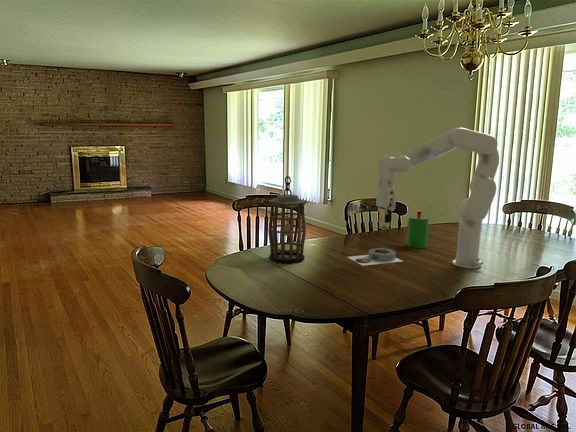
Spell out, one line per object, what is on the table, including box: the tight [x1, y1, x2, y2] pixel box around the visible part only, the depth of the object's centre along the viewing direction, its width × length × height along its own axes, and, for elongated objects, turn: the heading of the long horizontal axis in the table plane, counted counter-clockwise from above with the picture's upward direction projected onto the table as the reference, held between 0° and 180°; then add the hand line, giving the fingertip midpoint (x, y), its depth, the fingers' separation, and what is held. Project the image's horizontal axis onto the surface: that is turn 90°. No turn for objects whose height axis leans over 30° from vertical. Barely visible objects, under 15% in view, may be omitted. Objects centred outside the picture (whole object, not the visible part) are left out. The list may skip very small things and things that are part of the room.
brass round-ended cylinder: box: [378, 208, 391, 230], centre depth 216 cm, size 5×5×10 cm
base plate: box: [347, 254, 403, 267], centre depth 217 cm, size 15×22×1 cm
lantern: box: [266, 175, 308, 265], centre depth 215 cm, size 19×19×40 cm
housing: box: [367, 247, 397, 261], centre depth 219 cm, size 13×13×3 cm
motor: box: [406, 209, 430, 249], centre depth 245 cm, size 10×9×20 cm
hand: (384, 221), depth 216 cm, fingers closed on brass round-ended cylinder, 5 cm apart
